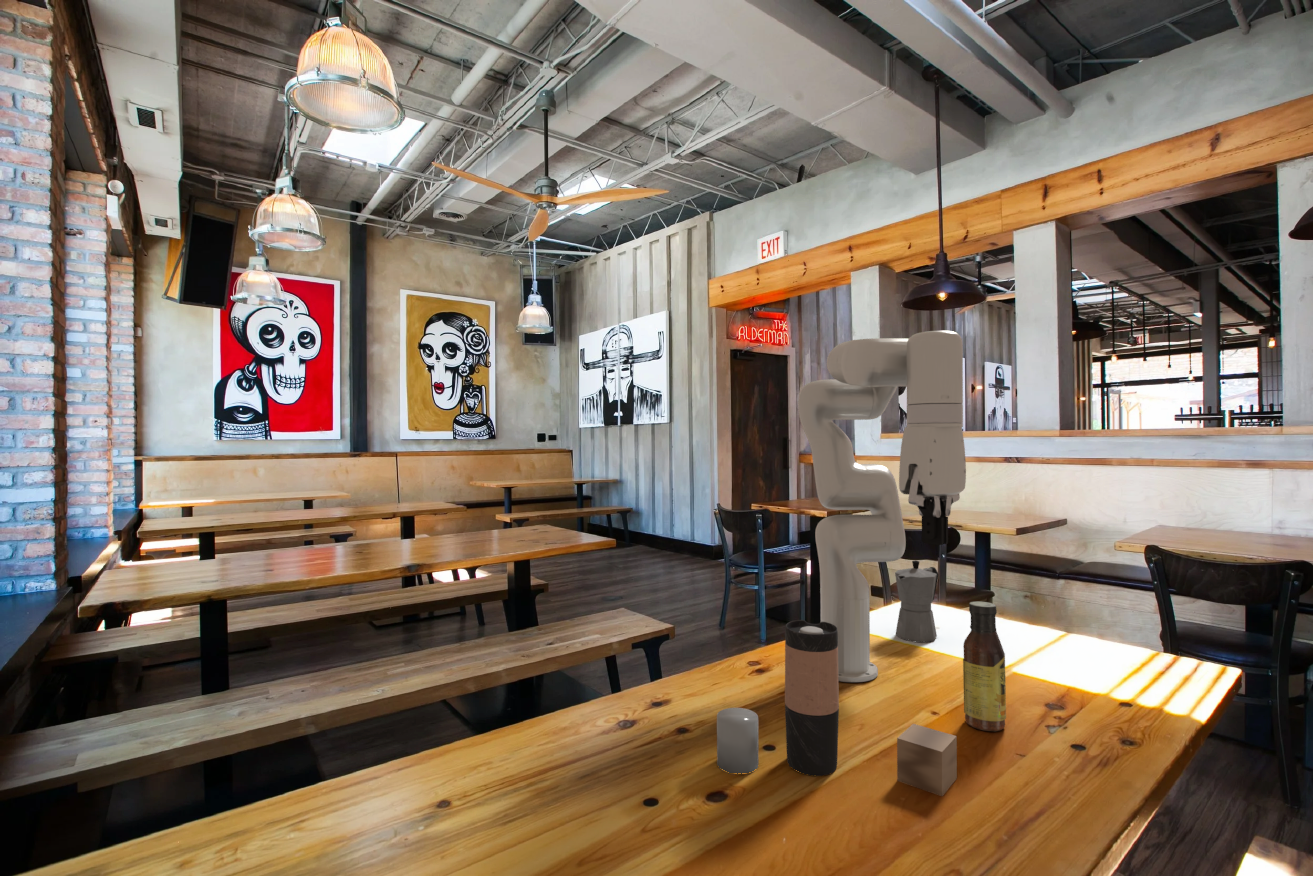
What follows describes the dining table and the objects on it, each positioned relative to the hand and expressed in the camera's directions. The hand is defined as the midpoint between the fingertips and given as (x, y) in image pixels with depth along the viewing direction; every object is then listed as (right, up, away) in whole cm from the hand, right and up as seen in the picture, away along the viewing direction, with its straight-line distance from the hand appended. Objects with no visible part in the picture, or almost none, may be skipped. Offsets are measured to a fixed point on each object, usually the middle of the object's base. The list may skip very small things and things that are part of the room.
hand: (934, 543), depth 95 cm
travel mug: (-18, -32, 0) cm, 37 cm away
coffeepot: (+22, -32, +60) cm, 71 cm away
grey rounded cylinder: (-29, -32, 0) cm, 43 cm away
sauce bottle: (+14, -32, +13) cm, 37 cm away
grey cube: (-3, -32, -4) cm, 33 cm away
